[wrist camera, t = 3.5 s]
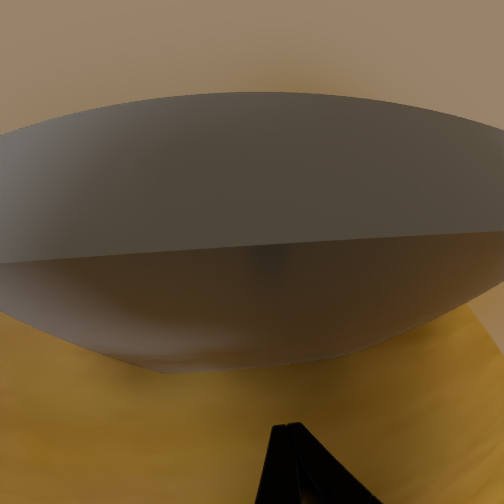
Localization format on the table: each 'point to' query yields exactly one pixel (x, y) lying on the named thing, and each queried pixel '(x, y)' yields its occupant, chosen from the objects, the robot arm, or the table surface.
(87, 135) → the tile
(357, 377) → the table surface
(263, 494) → the robot arm
